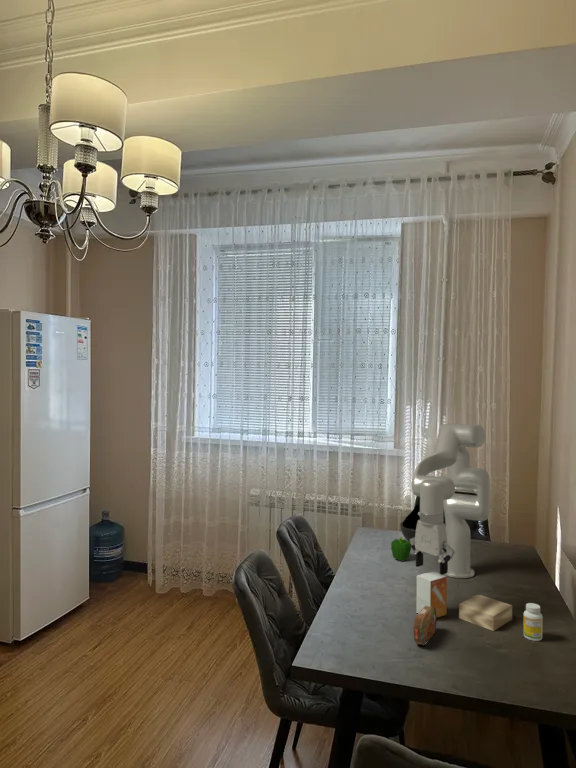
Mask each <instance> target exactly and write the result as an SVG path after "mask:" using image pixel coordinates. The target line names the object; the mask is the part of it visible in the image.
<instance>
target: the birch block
mask: <svg viewBox="0 0 576 768" xmlns="http://www.w3.org/2000/svg"><path fill="white" fill-rule="evenodd" d="M458 619H460V620H462V621H466V622H469V623H471V624H473V625H477V626H479V627H482V628H485V629H487V630H490V631H493V632H494V631H496V630H498V629H499V628H501V627H502V626H504V625H505V624H507V623H509V622H510V621H512V620H513V604H511V603H510V604H509V603H507V602H503V601H500V600H497V599H493V598H490V597H488V596H485V595H482V594H479V593H478V594H476V595H474V596H472V597H470V598H468V599H466V600H464V601H462V602H461V603H459V604H458Z"/></svg>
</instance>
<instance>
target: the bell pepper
mask: <svg viewBox="0 0 576 768" xmlns="http://www.w3.org/2000/svg"><path fill="white" fill-rule="evenodd" d="M411 546H412V545H411V543H410V542H409V541H407V540H406V539H403V537H402V536H399V539H397V538H395V539H394V540H392V541H391V543H390V549H391V554H392V558H396V559H395V560H397V559H398V560H405V561H407V560H408V559H409V558H410V556H411V555H410V554H411V552H412V551H411V550H412V547H411ZM398 560H397V561H398Z"/></svg>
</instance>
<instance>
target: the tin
mask: <svg viewBox="0 0 576 768" xmlns="http://www.w3.org/2000/svg"><path fill="white" fill-rule="evenodd" d="M437 619H438V618H437V615H436V610H435V608H434V607H429V606H425V607H424V608H423V609H422V610H421V611H420V612H419V614H416V616H415V618H414V621H413V627H412V629H413V641H414V642H415V643H416V644H418V645H422V646H424V645H425V643H426V642H427V641H428V640H429V639H430V638H432V637H433V636H434V635H435V633H436V629H437ZM433 634H434V635H433ZM430 640H431V639H430ZM430 640H429V641H430ZM425 646H426V645H425Z"/></svg>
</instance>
